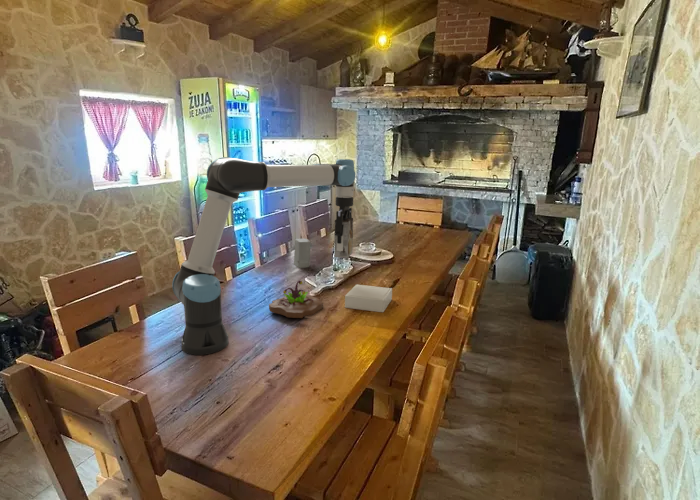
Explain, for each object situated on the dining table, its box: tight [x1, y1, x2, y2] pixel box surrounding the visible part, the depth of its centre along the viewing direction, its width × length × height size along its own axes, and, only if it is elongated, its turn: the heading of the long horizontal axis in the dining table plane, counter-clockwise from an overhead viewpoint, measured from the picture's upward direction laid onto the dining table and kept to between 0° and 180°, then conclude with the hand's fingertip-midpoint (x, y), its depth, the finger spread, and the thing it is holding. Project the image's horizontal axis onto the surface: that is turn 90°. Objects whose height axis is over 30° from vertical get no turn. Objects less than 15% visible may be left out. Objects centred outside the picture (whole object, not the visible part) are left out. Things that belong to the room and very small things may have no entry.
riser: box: [344, 283, 393, 313], centre depth 176 cm, size 16×16×5 cm
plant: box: [268, 280, 324, 319], centre depth 169 cm, size 20×20×11 cm
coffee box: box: [333, 217, 354, 259], centre depth 182 cm, size 9×6×16 cm
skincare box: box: [293, 237, 312, 269], centre depth 226 cm, size 8×7×16 cm
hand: (343, 248), depth 183 cm, fingers closed on coffee box, 9 cm apart
